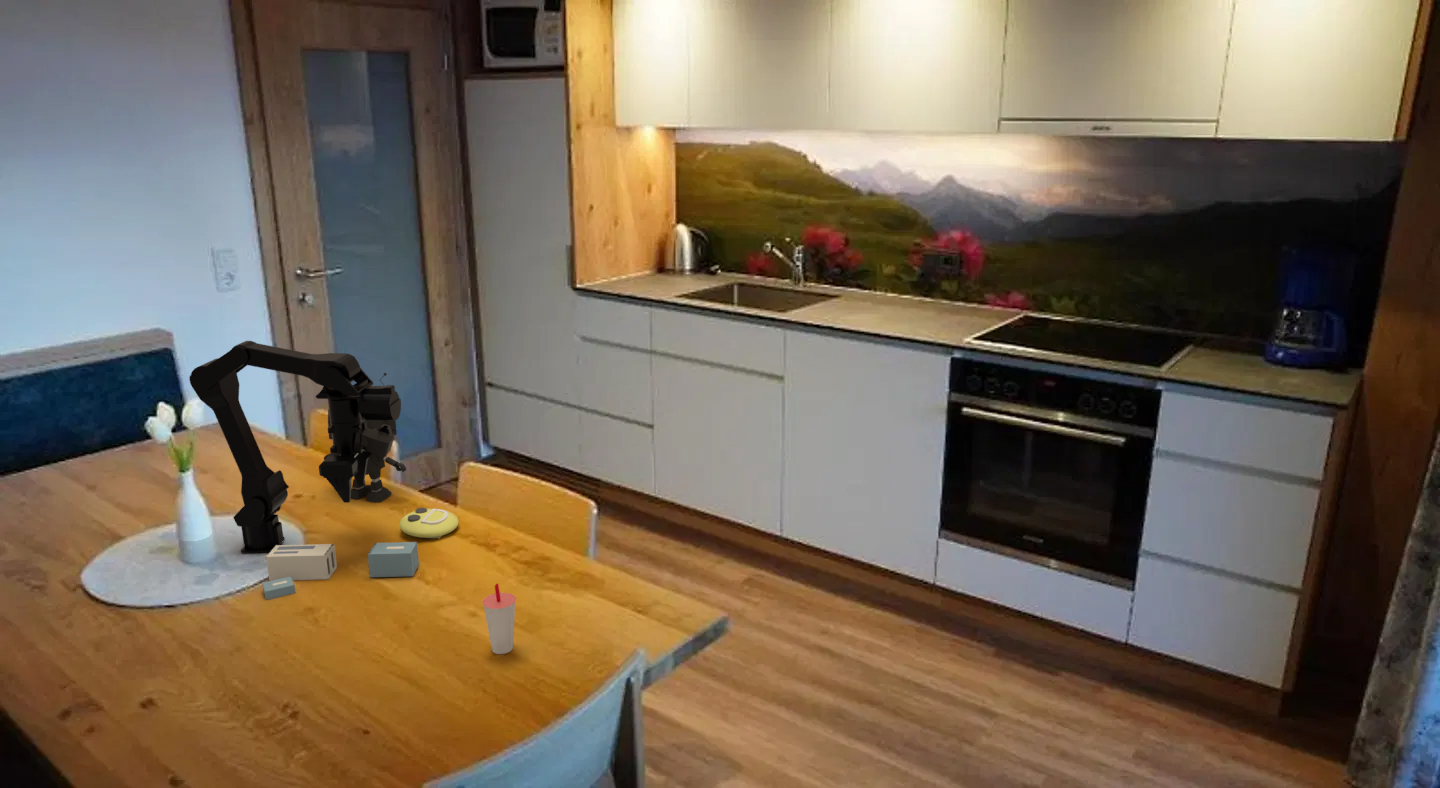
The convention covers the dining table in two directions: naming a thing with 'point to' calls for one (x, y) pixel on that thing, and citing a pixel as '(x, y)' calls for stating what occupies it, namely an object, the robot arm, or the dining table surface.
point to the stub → (393, 559)
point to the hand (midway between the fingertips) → (354, 493)
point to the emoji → (428, 523)
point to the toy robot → (373, 467)
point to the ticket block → (302, 562)
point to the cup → (500, 620)
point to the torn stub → (278, 588)
